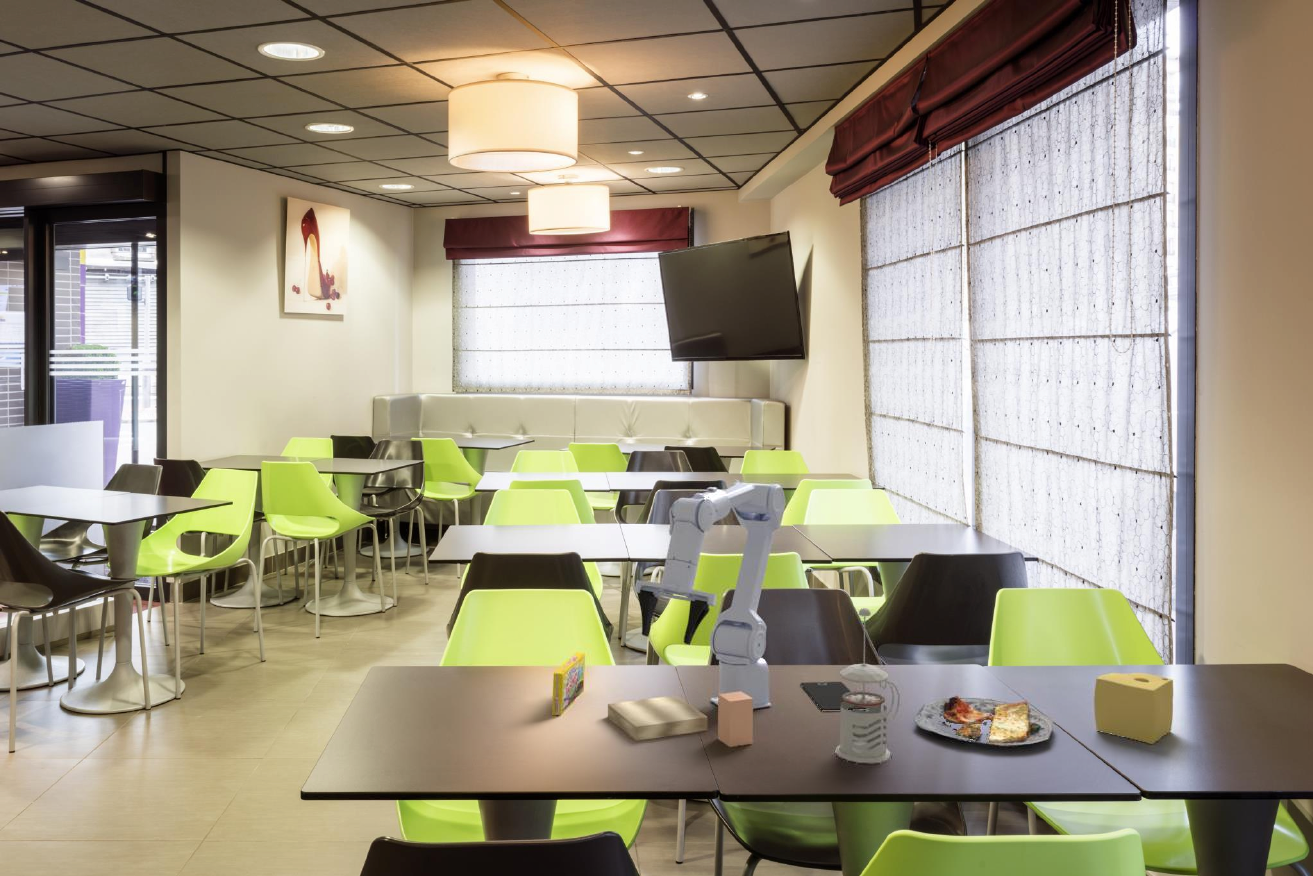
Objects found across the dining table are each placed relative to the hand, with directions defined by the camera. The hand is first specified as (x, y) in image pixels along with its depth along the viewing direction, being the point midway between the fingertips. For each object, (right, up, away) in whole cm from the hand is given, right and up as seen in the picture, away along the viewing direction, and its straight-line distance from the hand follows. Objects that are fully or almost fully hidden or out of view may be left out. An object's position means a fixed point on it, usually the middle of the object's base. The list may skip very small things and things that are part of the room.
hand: (665, 639), depth 177 cm
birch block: (-2, -18, +11) cm, 22 cm away
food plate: (+58, -19, +9) cm, 62 cm away
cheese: (+85, -19, +8) cm, 87 cm away
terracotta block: (+12, -18, +2) cm, 22 cm away
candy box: (-19, -17, +24) cm, 35 cm away
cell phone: (+34, -18, +28) cm, 47 cm away
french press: (+34, -19, -3) cm, 39 cm away
